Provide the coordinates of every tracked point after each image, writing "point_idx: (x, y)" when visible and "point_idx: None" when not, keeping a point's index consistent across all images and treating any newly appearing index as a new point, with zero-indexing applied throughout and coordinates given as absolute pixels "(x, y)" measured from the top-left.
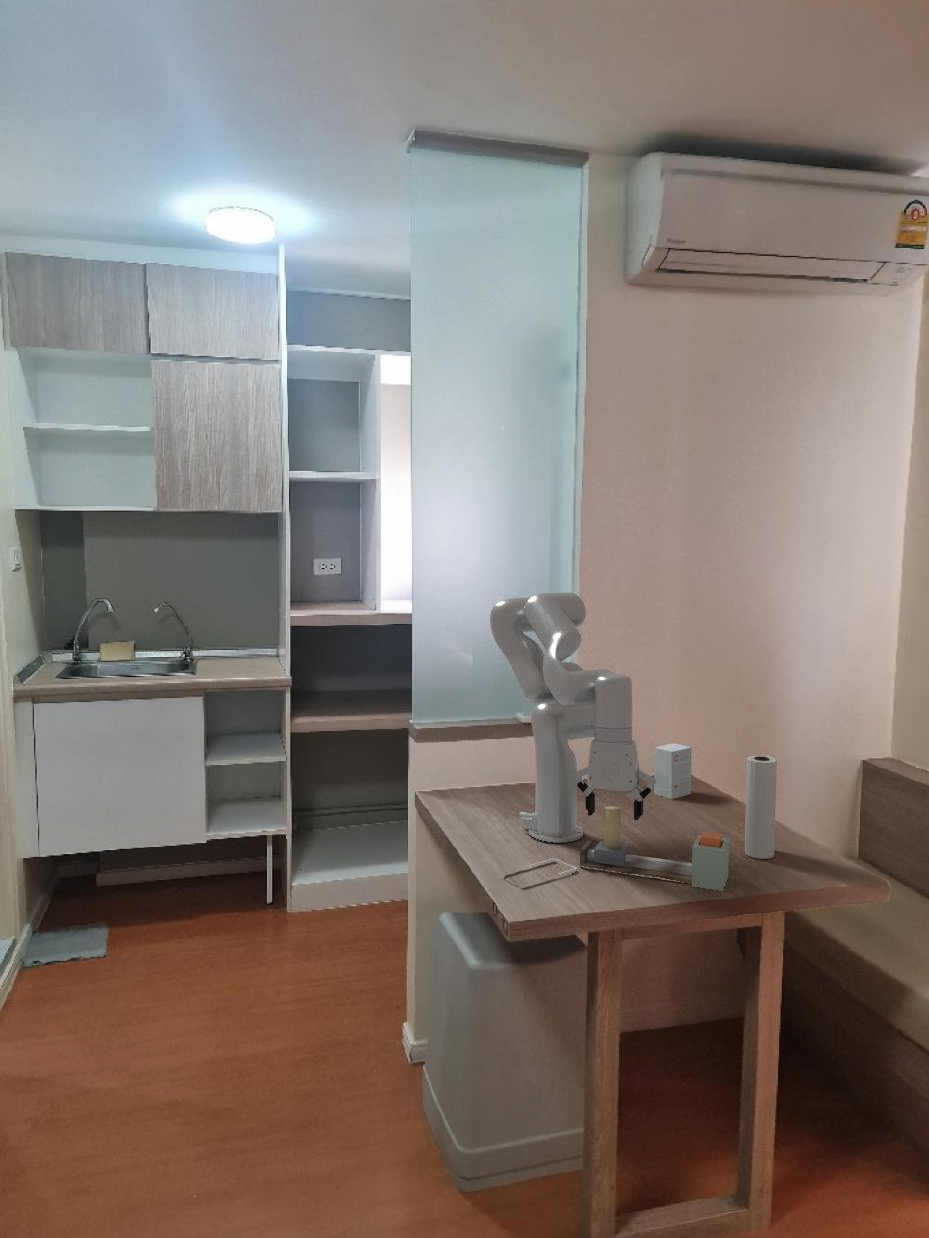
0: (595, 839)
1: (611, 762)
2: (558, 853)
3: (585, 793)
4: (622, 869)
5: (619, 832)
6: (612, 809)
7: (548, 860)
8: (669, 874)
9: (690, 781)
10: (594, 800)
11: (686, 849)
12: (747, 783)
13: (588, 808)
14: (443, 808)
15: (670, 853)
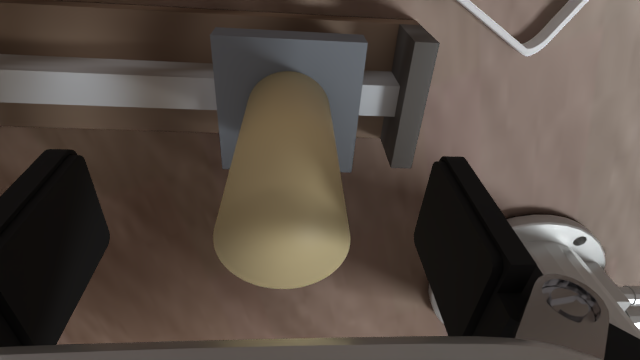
0: (388, 277)
1: None
2: (504, 141)
3: (576, 302)
4: (225, 15)
5: (238, 137)
6: (277, 229)
7: (558, 24)
8: (17, 30)
9: None
10: (441, 296)
11: (116, 289)
12: None
13: (477, 186)
14: None
15: (144, 252)
